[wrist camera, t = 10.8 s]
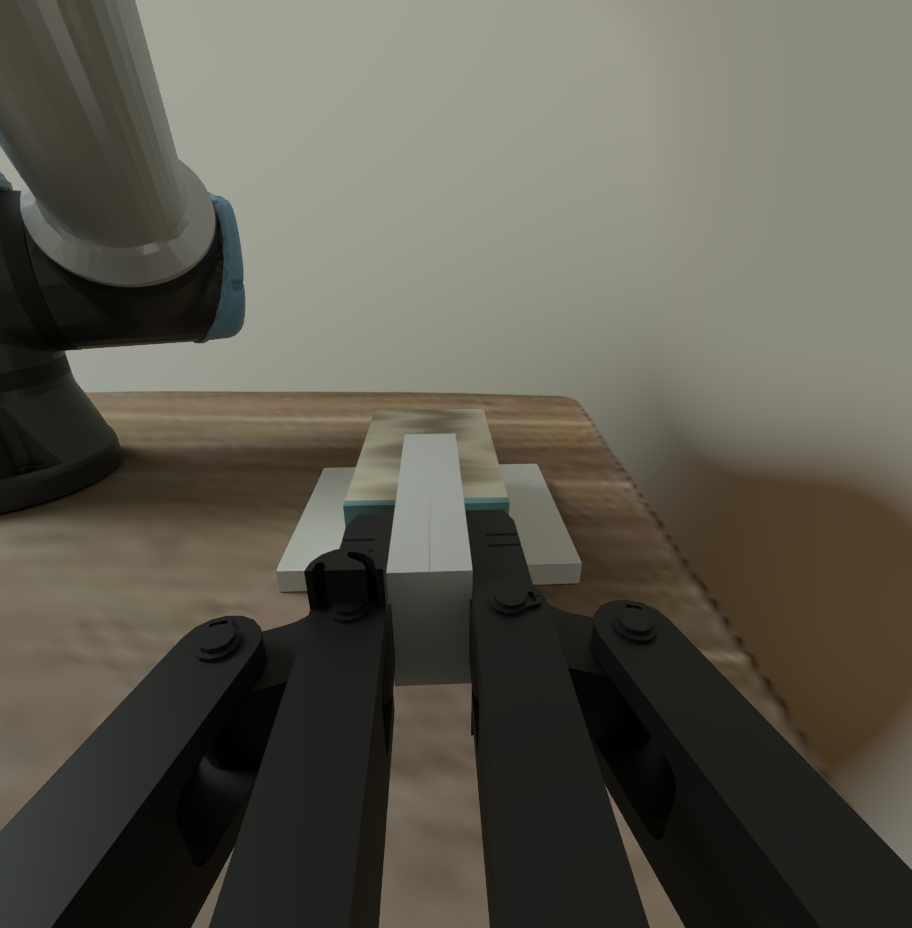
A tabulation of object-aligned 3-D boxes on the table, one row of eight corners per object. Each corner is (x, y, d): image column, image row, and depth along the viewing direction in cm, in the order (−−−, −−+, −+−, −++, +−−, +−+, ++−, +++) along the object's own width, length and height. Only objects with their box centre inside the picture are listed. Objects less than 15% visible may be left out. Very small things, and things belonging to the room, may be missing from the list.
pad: (279, 591, 29) (275, 571, 29) (326, 483, 42) (324, 467, 41) (579, 583, 30) (581, 563, 29) (535, 479, 42) (537, 463, 42)
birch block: (342, 506, 23) (375, 410, 36) (354, 604, 26) (380, 483, 39) (509, 502, 24) (483, 409, 36) (504, 600, 26) (481, 481, 39)
